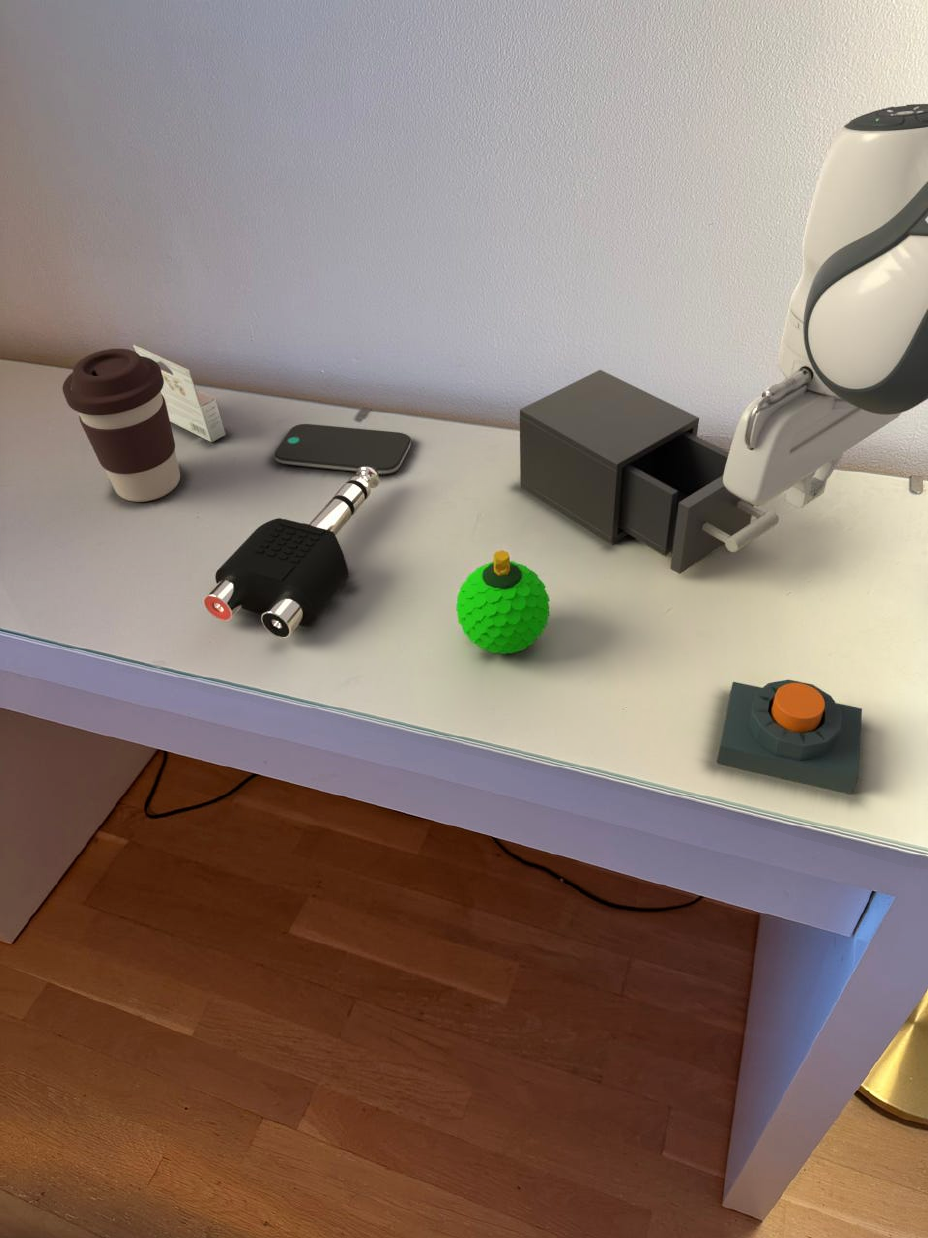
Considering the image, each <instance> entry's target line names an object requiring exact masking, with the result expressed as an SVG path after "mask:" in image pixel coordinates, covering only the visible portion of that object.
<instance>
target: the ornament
mask: <svg viewBox="0 0 928 1238" xmlns="http://www.w3.org/2000/svg"><path fill="white" fill-rule="evenodd" d="M509 554H510V553H509V552H508V551H505V550H504V549H503V550H497V551H495V552H494V553H493V561H491V562H488V563H486V564H483V565H481V566H479V567H477V568H476V569H475V570H473V571H472V572H471V573H469V574H468V576H467V577H466V580H465V581H464V582H463V583H462V584H461V586H460V588H459V589H460V590H459V591H458V594H457V597H456V598H457V600H456V601H457V602H456V606H455V609H456V612H457V621H458V624H460V625H461V629H462V632H463V634H464V635H465V636H466V637H467V638H468V639H469V640H470V642H472V643H473V644H475V646H477V648H478V647H479V649H481V650H483V649H485V651H487V652H488V653H491V654H495V653H497V654H501V655H506V654H513V653H514V654H515V653H516V652H519V651H524V650H525V649H526V648H527V647H530V646H531V645H532V644H534V642H535V641H536V639H537V638H540V637H541V636H542V634H543V631H544V629H545V628H546V626H547V625H548V621H549V617H550V608H551V607H550V603H549V602H550V601H551V600H550V597H549V594H548V592H547V590H546V588H547V586H546V585H545V583H544V582H543V581H542V580H541V579H540V578H539V575H538V574H537V573H536V572H535V571H533V570H531V569H530V568H529V567H528V566H526V565H523V564H522V563H518V562H515V561H513V560H511V557H510V555H509ZM469 640H468V641H469Z"/></svg>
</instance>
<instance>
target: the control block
mask: <svg viewBox="0 0 928 1238" xmlns="http://www.w3.org/2000/svg"><path fill="white" fill-rule="evenodd" d="M789 683H802V684H806V685H809V686H811V687H813V688H814V689H816V690H817V691H818V692H819V693H820V694H821V695H822V697H823V698H824V701H825V708H824V711H823V714H822V717H821V720H820V723H819V725H818V726H817V727H816V728H815V729H814V730H812V731H810V732H806V733H797V732H792V731H788V730H786V729H784V728H782V727H781V726H779V725H778V724H777V723H776V722H775V720H774V719H773V716H772V712H771V711H772V706H773V702H774V698H775V695H776V692H777V690H778V689H779V688H780V687H782V686H783V685H786V684H789ZM729 692H730V693H729V698H728V703H727V707H726V712H725V717H724V722H723V727H722V732H721V737H720V742H719V747H718V752H717V757H716V764H719V765H723V766H727V767H731V768H732V767H733V768H736V769H740V770H745V771H749V772H753V773H758V774H761V775H767V776H769V777H774V778H779V779H784V780H786V781H787V780H788V781H792V782H797V783H801V784H805V785H808V786H812V787H813V786H814V787H817V788H822V789H825V790H831V791H835V792H839V793H843V794H848V795H852V792H853V790H854V788H855V786H856V784H857V780H858V777H859V763H860V751H861V750H860V749H861V734H862V733H861V732H862V717H863V716H862V715H863V708H861V707H857V706H852V705H848V704H842V703H838V702H836V701H835V700H834V698H833V697H832V695H830V694H828V693H827V692H825V691H823V690H822V689H821V688H819V687H817V686H816V685H814V684H812V683H808V682H803V681H799V680H794V679H793V680H792V679H783V680H777V681H773V682H768V683H766V684H765V685H764V686H763V687H761V686H756V685H751V684H746V683H742V682H737V681H732V685H731V688H730V691H729Z"/></svg>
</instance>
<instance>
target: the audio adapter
mask: <svg viewBox="0 0 928 1238" xmlns="http://www.w3.org/2000/svg"><path fill="white" fill-rule="evenodd" d="M355 474H356V475H354V476H351V477H350V478H349V479H348V480H347V481H346V482H345V483H344V484H343V485H342V486H341V487H340V488H339V490H338V491H337V492H336V493H335V495H333V496H332V498H331V499H330V500H329V501H328V502H327V503H326V504H325V506H324V507H323V508H322V509H321V510H320V511H319V512H318V513H317V514H316V516H315V517H314V518H313V519H312V520H311V521H310V522H309V524H308V523H304V522H298V521H294V520H290V519H287V518H280V517H279V518H274V519H271V520H269V521H266V522H265V523H263V524H261V525H259V526H258V527H257V528H256V529H255V530H254V531H252V533H251V534H250V535H249V536H248V537H247V539H245V541H244V542H242V544H240V545H239V547H238V548H237V549H236V550H235V551H234V552H233V553H232V554H231V556H230V557H228V559H227V560H226V561H224V563H223V564H222V565H221V566H220V567H219V568H218V569H217V570H216V572H215V576H214V577H215V578H214V579H215V583H216V584H215V585H214V587H212V588H211V590H210V591H209V592H207V594H206V595H205V596H204V598H203V605H204V607H205V609H206V610H207V611H208V612H209V614H210V615H212V616H213V617H214V618H216V619H218V620H220V621H224V622H228V621H231V620H232V618H234V616H235V615H236V614H237V613H238V612H239V611H240V609H243V610H246V611H249V612H253V613H256V614H260V615H261V617H260V619H261V623H262V626H263V627H264V628H265V629H266V630H267V631H268V632H269V633H270V634H271V635H273V636H276V637H278V638H279V639H287V638H289V637H290V636H291V634H292V633H293V632H294V631H295V630H296V628H297V627H298V626H309V625H312V624H313V623H314V622H315V621H316V619H317V618H318V617H319V616H320V614H321V613H322V612H323V611H324V609H325V608H326V606H327V605H328V604H329V603H330V602H331V600H333V598H334V597H335V596H336V594H337V593H338V591H340V589H341V588H342V587H343V585H344V584H345V583H346V581H347V580H348V579H349V569H348V563H347V561H346V558H345V555H344V552H343V550H342V547H341V545H340V542H339V540H338V538H337V536H336V535H338V533H339V532H340V531H341V530H342V529H343V528H344V526H345V525H346V524H347V523H348V522H349V520H350V519H351V517H353V515H355V513H356V512H357V511H358V510H359V509H360V507H362V505H363V504H364V502H365V500H367V499H368V498H369V497H370V495H371V490H372V489H375V488H377V487H378V486H379V484H380V476H379V474H378V470H377V467H367V466H363V467H360V468H359V469H358V470H357V472H355Z"/></svg>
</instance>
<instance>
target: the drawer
mask: <svg viewBox="0 0 928 1238" xmlns="http://www.w3.org/2000/svg"><path fill="white" fill-rule="evenodd" d="M728 455H729V451H728V450H725V449H723V448H721V447H719V446H717V445H715V444H713V443H711V442H709V441H707V440H706V439H703V438H701V437H699V436H698V435H697V436H695V435H693V434H691V433H689V432H687V431H686V432H684V433H683V434H681V435H679V436H677V437H676V438H674V439H672V440H670V441H669V442H667V443H665V444H663V445H662V446H660V447H658V448H656V449H655V450H653V451H651V452H649V453H648V454H646V455H644V456H642V457H641V458H639V459H637V460H635V461H634V462H632V463H630V464H628V465H627V466H625V467H623V470H622V482H621V495H620V508H619V520H618V528H620V529H622V530H623V531H625V532H627V533H628V535H630V536H631V537H633V538H635V540H637V541H639V542H641V543H643V544H644V545H646V546H648V547H649V548H651V549H653V550H654V551H655V552H658V553H659V554H661V555H662V556H664V557H666V556H667V555H669V554H671V560H670V567H669V568H670V570H672V571H673V572H675V573H677V574H678V575H681V574H682V573H684V572H686V571H687V570H689V569H691V568H692V567H693V566H695V565H696V564H697V563H699V562H700V561H702V560H703V559H705V558H707V557H708V556H709V555H712V553H714V552H715V551H717V550H718V549H720V548H721V547H723V546H724V545H725V548H726V549H727V550H728V551H729V552H730V553H737V552H738V551H739V550H741V549H743V547H744V548H745V546H747V545H748V544H750V543H751V542H753V541H755V540H756V539H757V538H759V537H760V536H761V535H763V534H765V533H766V532H768V531H769V530H770V529H772V528H773V527H775V526H777V524H778V523H780V522H779V521H780V518H779V515H778V514H777V513H776V512H775V511H773V510H769V511H767V512H765V511H763V510H761V509H760V508H758V507H757V506H755V505H752V504H750V503H748V502H746V501H745V500H743V499H741V498H739V497H737V496H736V495H734V494H732V493H731V492H729V491H728V490H727V489H726V487H725V486H724V484H723V474H724V470H725V466H726V462H727V458H728ZM752 517H754V518H756V519H755V520H753V521H752Z"/></svg>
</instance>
